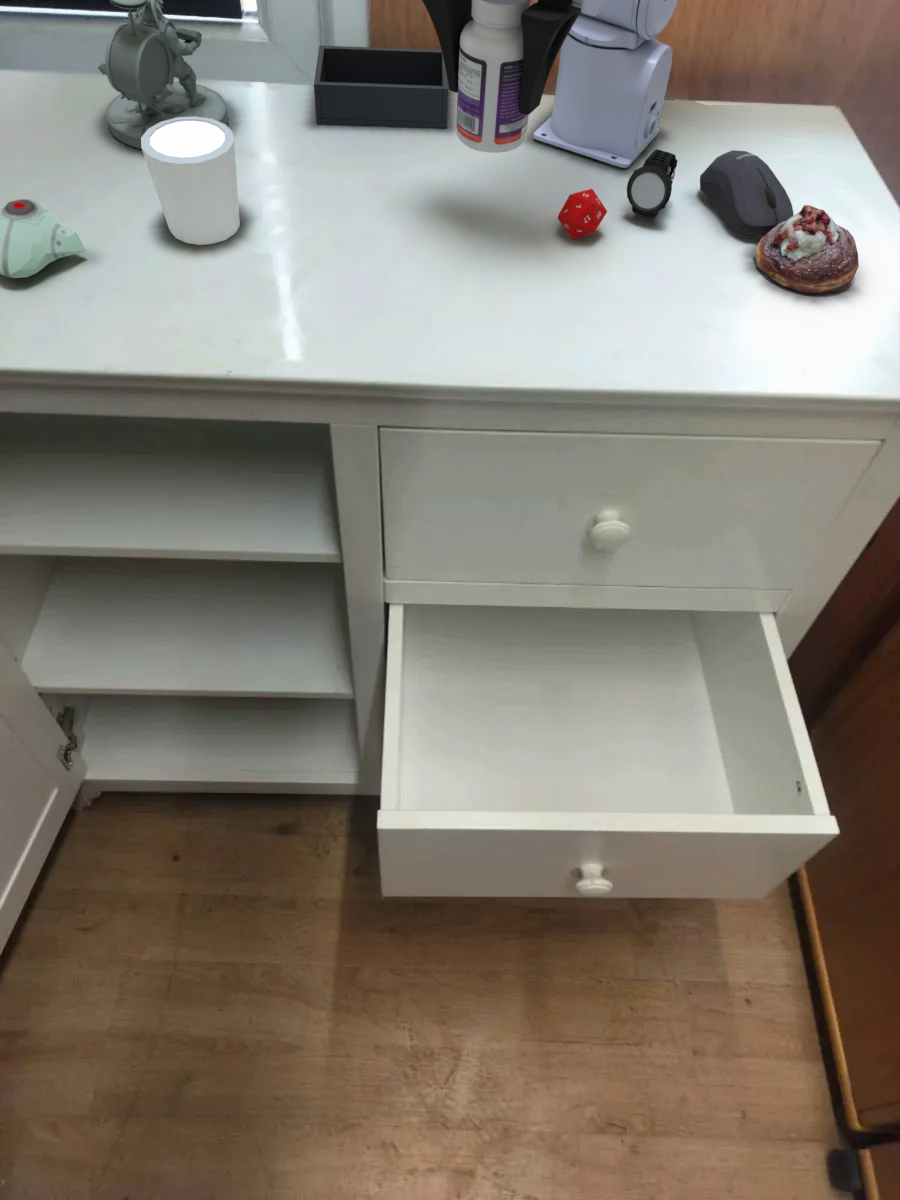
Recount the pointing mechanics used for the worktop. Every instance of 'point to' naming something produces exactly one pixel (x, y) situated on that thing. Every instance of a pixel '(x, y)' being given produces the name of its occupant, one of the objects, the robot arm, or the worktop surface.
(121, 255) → the worktop surface
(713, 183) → the computer mouse
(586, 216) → the die
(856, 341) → the worktop surface
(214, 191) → the white cylinder
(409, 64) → the bin
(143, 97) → the figurine
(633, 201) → the smartwatch
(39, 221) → the robot head
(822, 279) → the pastry
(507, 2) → the pill bottle
